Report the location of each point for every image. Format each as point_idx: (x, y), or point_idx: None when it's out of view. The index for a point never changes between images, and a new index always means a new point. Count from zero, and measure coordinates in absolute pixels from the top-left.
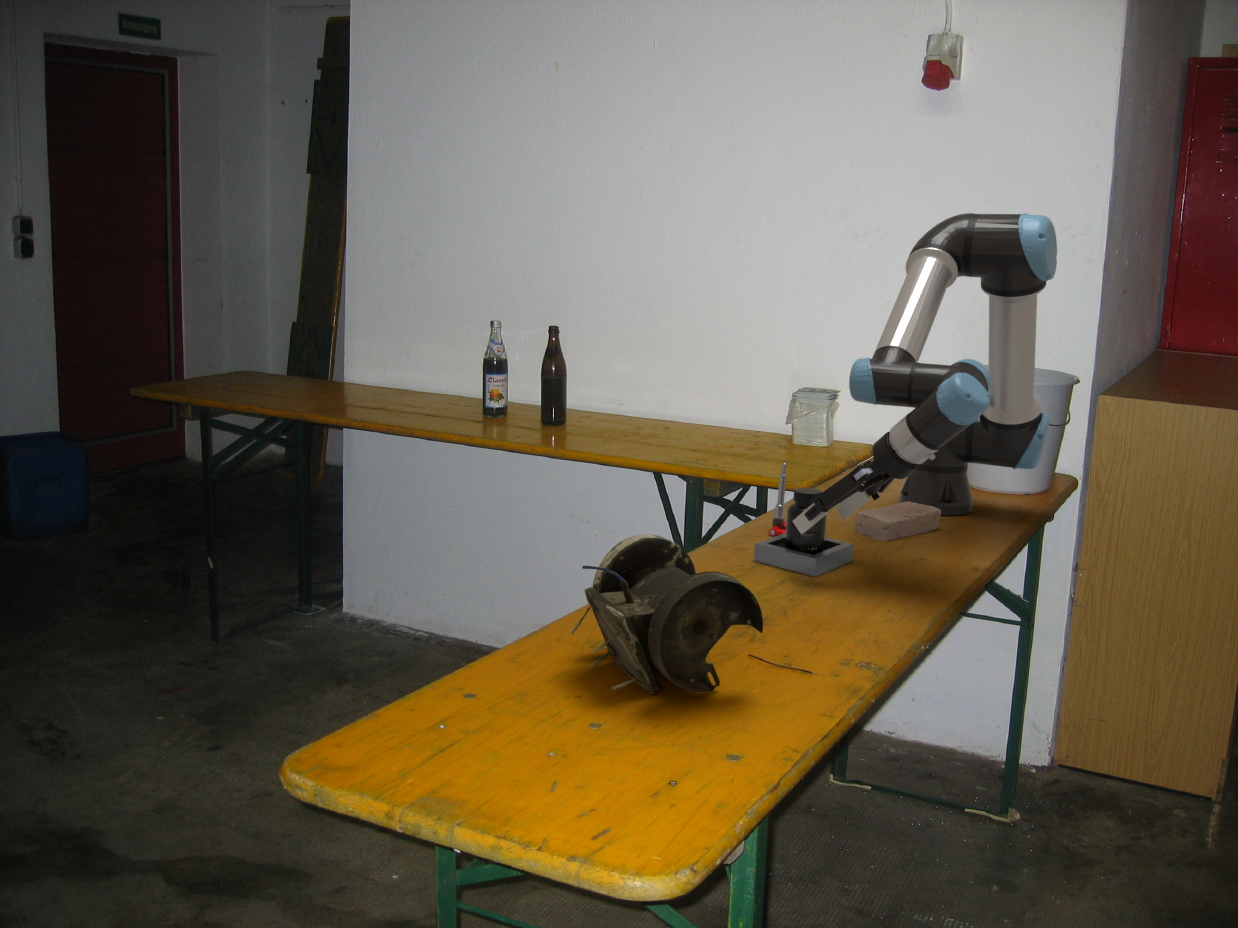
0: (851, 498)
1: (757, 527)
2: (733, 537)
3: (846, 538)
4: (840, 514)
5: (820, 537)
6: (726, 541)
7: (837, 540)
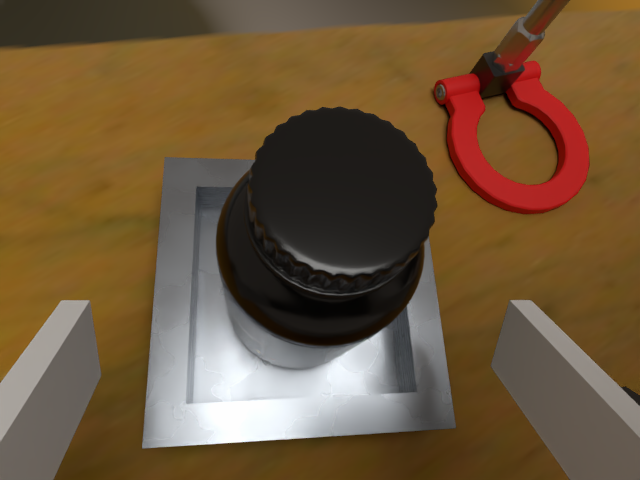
0: (577, 400)
1: (468, 35)
2: (338, 35)
3: (608, 260)
4: (498, 340)
5: (297, 360)
6: (291, 40)
7: (441, 350)
